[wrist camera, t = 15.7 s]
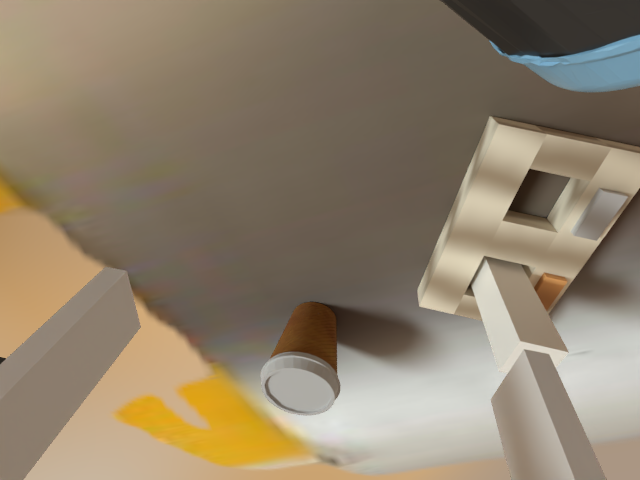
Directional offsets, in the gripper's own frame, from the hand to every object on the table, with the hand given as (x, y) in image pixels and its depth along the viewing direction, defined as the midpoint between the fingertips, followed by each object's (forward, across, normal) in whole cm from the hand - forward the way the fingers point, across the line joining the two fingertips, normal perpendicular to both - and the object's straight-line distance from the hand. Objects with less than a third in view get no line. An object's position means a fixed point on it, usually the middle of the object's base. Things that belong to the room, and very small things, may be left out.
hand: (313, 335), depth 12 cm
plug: (+28, +18, -14) cm, 36 cm away
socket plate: (+28, +18, -9) cm, 35 cm away
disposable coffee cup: (+28, -2, -28) cm, 40 cm away
